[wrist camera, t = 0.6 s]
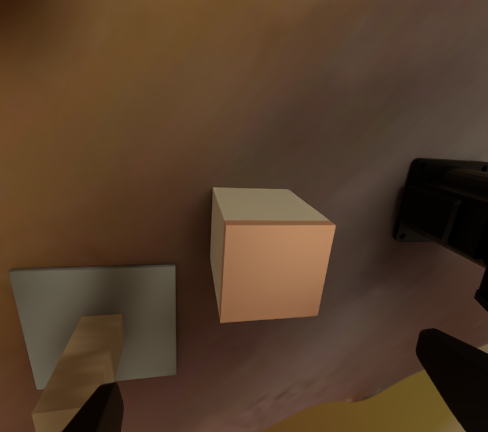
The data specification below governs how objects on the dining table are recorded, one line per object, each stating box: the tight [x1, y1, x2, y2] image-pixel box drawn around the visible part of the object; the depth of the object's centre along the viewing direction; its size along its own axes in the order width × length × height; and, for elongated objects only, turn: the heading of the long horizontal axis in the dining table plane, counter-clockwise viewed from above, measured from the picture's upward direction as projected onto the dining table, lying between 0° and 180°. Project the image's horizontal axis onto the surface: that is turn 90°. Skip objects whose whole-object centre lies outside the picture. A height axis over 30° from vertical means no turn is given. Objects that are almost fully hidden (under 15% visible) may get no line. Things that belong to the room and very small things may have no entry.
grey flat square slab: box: [9, 264, 176, 432], centre depth 17 cm, size 10×10×7 cm
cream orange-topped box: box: [210, 187, 336, 323], centre depth 16 cm, size 5×5×7 cm
